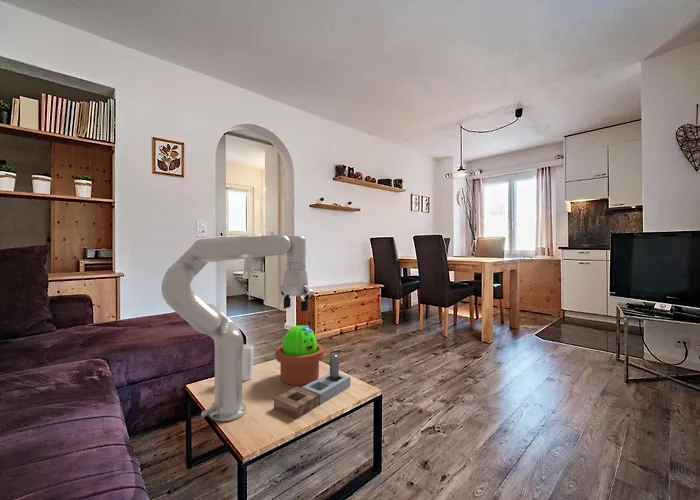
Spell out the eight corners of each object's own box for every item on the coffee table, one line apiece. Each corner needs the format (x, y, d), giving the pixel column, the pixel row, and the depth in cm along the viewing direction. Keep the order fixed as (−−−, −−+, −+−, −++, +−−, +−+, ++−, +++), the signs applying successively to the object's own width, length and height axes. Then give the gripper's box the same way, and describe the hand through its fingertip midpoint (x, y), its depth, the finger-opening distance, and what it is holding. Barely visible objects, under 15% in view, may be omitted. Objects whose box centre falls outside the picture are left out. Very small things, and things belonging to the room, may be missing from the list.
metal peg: (334, 390, 137) (335, 357, 137) (327, 387, 139) (328, 355, 139) (340, 386, 140) (340, 355, 140) (333, 384, 142) (333, 353, 142)
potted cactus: (267, 376, 150) (267, 323, 149) (305, 365, 165) (306, 316, 164) (292, 393, 134) (292, 333, 133) (332, 378, 148) (333, 325, 148)
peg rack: (320, 404, 125) (320, 394, 124) (301, 396, 130) (301, 387, 130) (350, 386, 141) (350, 377, 141) (332, 380, 147) (332, 371, 147)
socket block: (296, 418, 114) (296, 407, 114) (273, 408, 121) (273, 398, 121) (318, 405, 124) (318, 395, 124) (296, 396, 131) (296, 386, 131)
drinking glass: (234, 378, 147) (235, 346, 147) (248, 374, 152) (248, 343, 152) (242, 383, 142) (242, 349, 142) (255, 378, 147) (256, 346, 147)
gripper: (274, 266, 130) (273, 308, 130) (305, 268, 119) (304, 313, 120) (287, 265, 136) (287, 305, 136) (318, 267, 126) (318, 310, 126)
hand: (295, 309), depth 128 cm, fingers open, 9 cm apart
